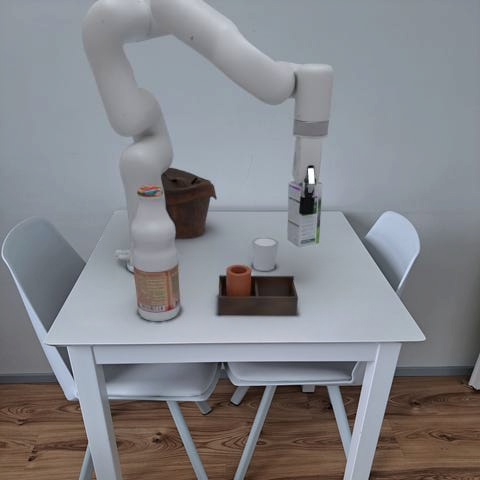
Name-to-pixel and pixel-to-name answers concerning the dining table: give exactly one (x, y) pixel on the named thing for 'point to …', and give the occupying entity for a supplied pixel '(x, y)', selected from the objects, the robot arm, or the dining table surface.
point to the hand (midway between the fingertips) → (303, 207)
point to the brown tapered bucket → (187, 201)
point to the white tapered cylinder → (264, 253)
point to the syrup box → (303, 216)
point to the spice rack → (261, 297)
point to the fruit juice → (155, 257)
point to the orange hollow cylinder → (238, 280)
